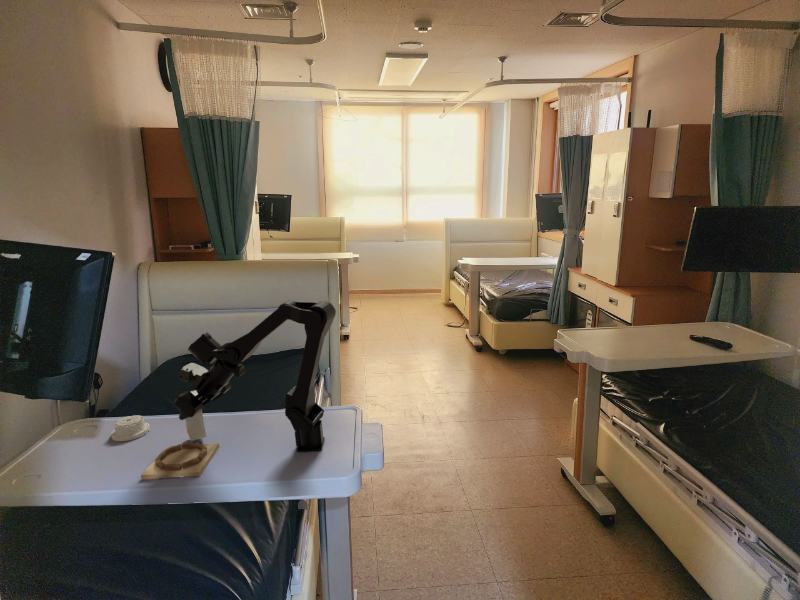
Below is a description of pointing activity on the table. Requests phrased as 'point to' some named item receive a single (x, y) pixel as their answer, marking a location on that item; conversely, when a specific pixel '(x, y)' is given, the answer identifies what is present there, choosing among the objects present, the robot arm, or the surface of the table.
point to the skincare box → (195, 425)
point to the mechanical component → (130, 428)
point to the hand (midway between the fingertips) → (188, 412)
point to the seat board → (181, 461)
